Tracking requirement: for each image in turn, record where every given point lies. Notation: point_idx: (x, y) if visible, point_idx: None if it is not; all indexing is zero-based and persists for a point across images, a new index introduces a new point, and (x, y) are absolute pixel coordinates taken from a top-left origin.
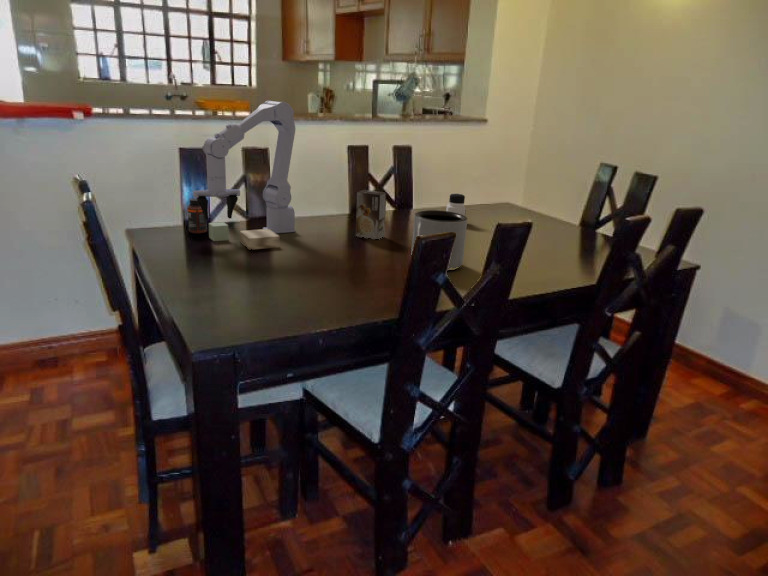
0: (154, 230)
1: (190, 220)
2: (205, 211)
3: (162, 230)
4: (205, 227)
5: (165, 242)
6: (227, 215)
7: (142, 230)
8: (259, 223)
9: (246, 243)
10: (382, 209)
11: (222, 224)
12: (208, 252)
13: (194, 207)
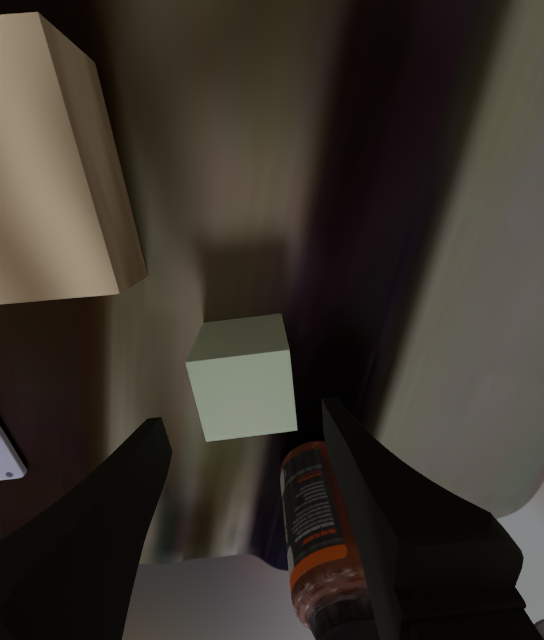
0: (460, 497)
1: None
2: (363, 437)
3: None
4: (290, 468)
5: (493, 332)
6: (169, 462)
7: (497, 501)
8: None
9: (97, 122)
10: None
11: (220, 389)
12: (360, 63)
13: None
